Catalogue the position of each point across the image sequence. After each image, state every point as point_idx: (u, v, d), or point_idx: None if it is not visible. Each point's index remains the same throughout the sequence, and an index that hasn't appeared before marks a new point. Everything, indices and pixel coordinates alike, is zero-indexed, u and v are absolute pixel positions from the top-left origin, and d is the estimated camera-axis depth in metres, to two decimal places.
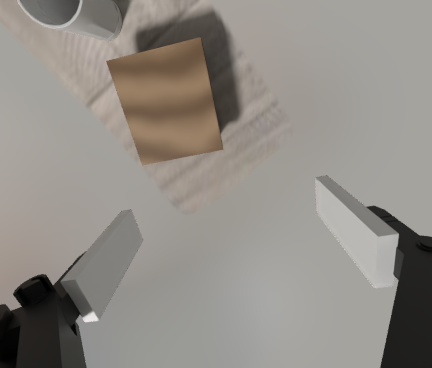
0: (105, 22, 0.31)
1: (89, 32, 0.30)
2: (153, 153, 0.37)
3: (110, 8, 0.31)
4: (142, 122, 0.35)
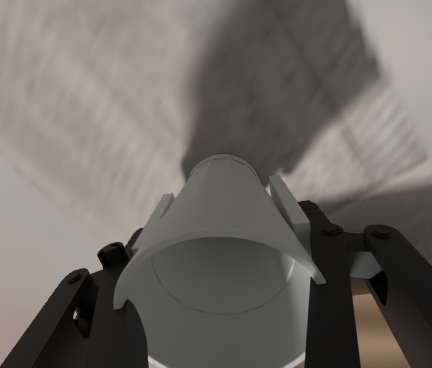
0: None
1: None
2: None
3: None
4: None
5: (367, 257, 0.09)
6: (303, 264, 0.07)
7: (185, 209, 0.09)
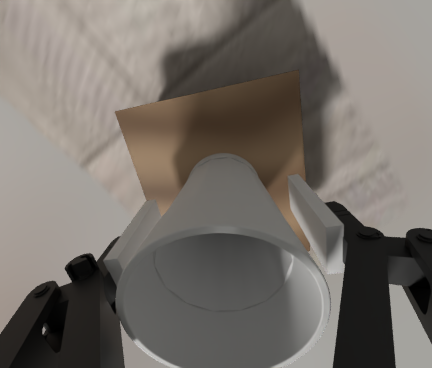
0: None
1: None
2: None
3: None
4: None
5: (408, 261, 0.08)
6: (302, 260, 0.07)
7: (186, 206, 0.09)
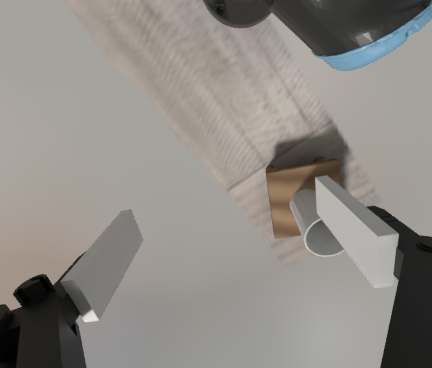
0: None
1: None
2: (286, 231, 0.50)
3: None
4: (283, 211, 0.48)
5: None
6: None
7: None
